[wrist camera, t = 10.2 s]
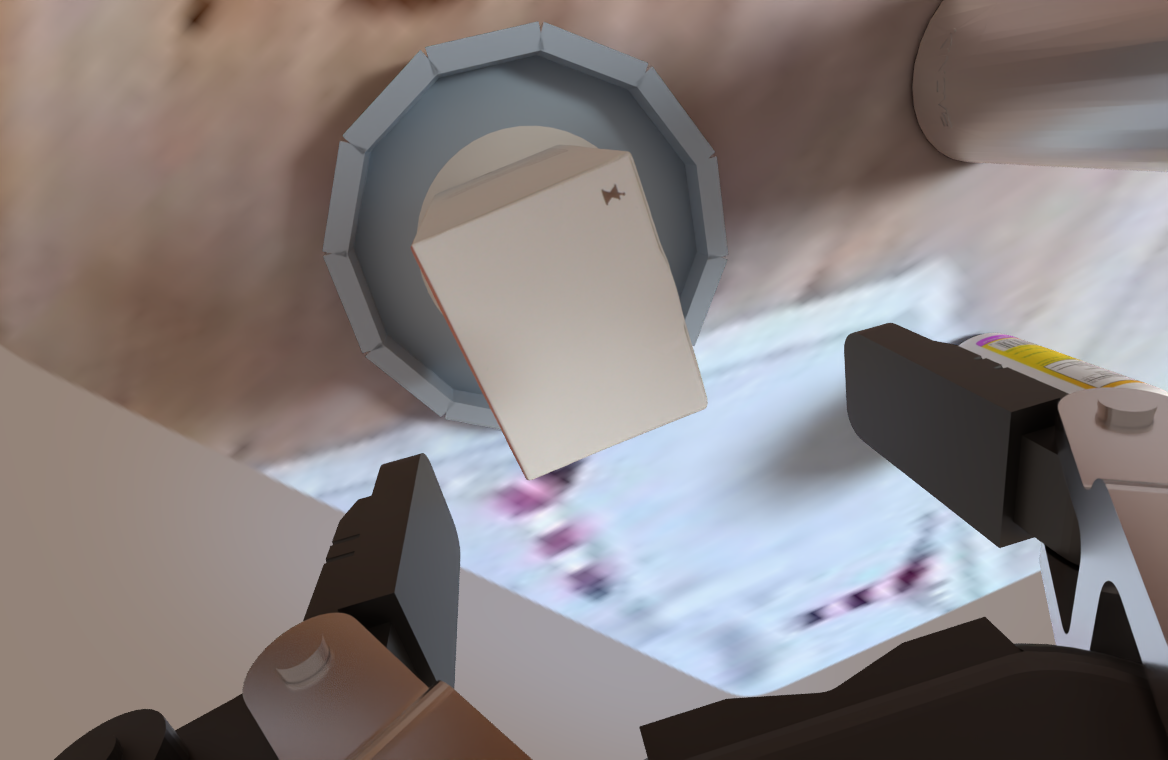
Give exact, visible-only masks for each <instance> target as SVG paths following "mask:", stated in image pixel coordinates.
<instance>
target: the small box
mask: <svg viewBox="0 0 1168 760" xmlns="http://www.w3.org/2000/svg"><path fill="white" fill-rule="evenodd" d="M411 251H412V253H413V255H414V257H415V259H416V261H417V263H418V265H419V267H420V269H421V271H422V273H423V275H424V277H425V279H426V281H427V283H428V285H429V287H430V289H431V291H432V294H433V296H434V298H435V300H436V302H437V304H438V306H439V308H440V310H441V312H442V314H443V316H444V318H445V320H446V322H447V324H448V326H449V328H450V330H451V332H452V334H453V336H454V338H455V340H456V342H457V343H458V345H459V347H460V349H461V351H462V353H463V355H464V357H465V359H466V361H467V363H468V365H469V367H470V369H471V371H472V373H473V375H474V377H475V379H476V381H477V383H478V385H479V387H480V389H481V391H482V393H483V395H484V397H485V399H486V401H487V403H488V405H489V407H490V409H491V411H492V413H493V414H494V416H495V418H496V420H497V422H498V424H499V426H500V428H501V430H502V432H503V434H504V436H505V438H506V440H507V442H508V445H509V447H510V449H511V450H512V452H513V454H514V456H515V458H516V460H517V462H518V464H519V466H520V468H521V470H522V472H523V474H524V476H525V478H526V479H527V480H532V479H535V478H537V477H540V476H542V475H544V474H547V473H549V472H552V471H554V470H556V469H559V468H561V467H564V466H566V465H568V464H570V463H573V462H575V461H577V460H580V459H582V458H585V457H587V456H590V455H592V454H594V453H597V452H599V451H601V450H604V449H606V448H609V447H611V446H614V445H616V444H618V443H621V442H623V441H626V440H628V439H631V438H633V437H636V436H638V435H641V434H643V433H646V432H648V431H651V430H653V429H656V428H658V427H661V426H663V425H665V424H668V423H670V422H673V421H675V420H678V419H680V418H683V417H685V416H688V415H690V414H693V413H696V412H698V411H701V410H703V409H705V408H706V407H707V403H708V402H707V396H706V393H705V389H704V385H703V382H702V378H701V375H700V371H699V368H698V364H697V360H696V357H695V354H694V351H693V347H692V344H691V340H690V337H689V333H688V330H687V326H686V323H685V319H684V316H683V312H682V308H681V304H680V299H679V295H678V292H677V288H676V285H675V282H674V279H673V276H672V273H671V270H670V266H669V263H668V260H667V257H666V255H665V253H664V251H663V248H662V245H661V243H660V240H659V237H658V234H657V231H656V228H655V224H654V222H653V219H652V216H651V212H650V209H649V206H648V203H647V200H646V197H645V194H644V191H643V187H642V184H641V181H640V178H639V175H638V172H637V169H636V165H635V162H634V159H633V157H632V154H631V153H630V152H628V151H619V150H608V149H597V148H589V147H581V146H573V145H556V146H553V147H551V148H548V149H546V150H543V151H541V152H538V153H536V154H534V155H531V156H529V157H526V158H524V159H521V160H519V161H516V162H514V163H512V164H509V165H507V166H504V167H502V168H499V169H497V170H494V171H492V172H490V173H487V174H485V175H482V176H480V177H477V178H475V179H472V180H470V181H467V182H465V183H462V184H460V185H457V186H455V187H452V188H450V189H447V190H445V191H442V192H440V193H438V194H436V195H434V197H433V199H432V202H431V204H430V205H429V207H428V210H427V212H426V214H425V217H424V219H423V221H422V223H421V225H420V227H419V230H418V232H417V234H416V236H415V239H414V241H413V243H412V245H411Z"/></svg>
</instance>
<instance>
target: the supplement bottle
mask: <svg viewBox="0 0 1168 760" xmlns="http://www.w3.org/2000/svg"><path fill="white" fill-rule="evenodd" d="M958 346H960V347H962V348H964V349H967V350H969V351H971V352H974V353H976V354H978V355H981V357H982V359H985V358H987V359H990V360H992V361H994V362H997V363H999V364H1001V365H1002V367H1003V368H1006V367H1008V368H1011V369H1013V370H1015V371H1018V372H1020V373H1022V374H1025V375H1027V376H1029V377H1032V378H1034V379H1036V380H1038V381H1041V382H1043V383H1045V384H1048V385H1050V386H1052V387H1055V388H1057V389H1059V390H1062V391H1064V392H1066V393H1069V394H1071V393H1073V392H1076V391H1080V390H1085V389H1091V388H1105V387H1115V388H1130V389H1138V390H1144V391H1150V392H1154V393H1158V394H1162V395H1165V396H1168V392H1167V391H1165V390H1162V389H1160V388H1157V387H1155V386H1152V385H1149V384H1146V383H1143V382H1141V381H1138V380H1135V379H1132V378H1129V377H1126V376H1123V375H1121V374H1118V373H1115V372H1112V371H1109V370H1106V369H1104V368H1101V367H1098V366H1095V365H1092V364H1089V363H1087V362H1084V361H1081V360H1078V359H1076V358H1073V357H1070V356H1067V355H1064V354H1062V353H1059V352H1056V351H1053V350H1050V349H1048V348H1045V347H1042V346H1039V345H1036V344H1034V343H1031V342H1028V341H1025V340H1022V339H1019V338H1016V337H1013V336H1009V335H1006V334H1001V333H986V334H981V335H978V336H975V337H972V338H970V339H968V340H966V341H964V342H963V343H961V344H960V345H958Z"/></svg>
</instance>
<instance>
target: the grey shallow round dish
mask: <svg viewBox="0 0 1168 760" xmlns="http://www.w3.org/2000/svg"><path fill="white" fill-rule="evenodd" d="M425 48H426V51H427V55H428V58H429V59H428V58H427V57H426V55H425V54H424V53H423V52H422V51H421V50H420V51H419V52H418V53H417V54H416V55H415V56H414V58H413V59H412V60H411V61H410V62H409V63H408V64H407V65H406V66H405V67H404V69H403V70H402V71H401V72H400V73H399V74H398V75H397V76H396V77H395V78H394V79H393V81H392V82H391V83H390V84H389V85H388V86H387V87H386V88H385V89H384V90H383V92H382V93H381V94H380V95H379V96H378V97H377V98H376V99H375V100H374V101H373V103H372V104H371V105H370V106H369V107H368V108H367V109H366V110H365V111H364V112H363V113H362V115H361V116H360V117H359V118H358V119H357V120H356V121H355V122H354V123H353V124H352V126H351V127H350V128H349V129H348V130H347V131H346V132H345V133H344V134H343V135H342V136H343V137H344V138H345V139H346V141H340V143H339V150H338V156H337V162H336V168H335V175H334V181H333V187H332V194H331V200H330V206H329V213H328V219H327V225H326V232H325V238H324V244H323V250H322V251H324V252H327V253H326V254H325V255H324V256H323V257H324V260H325V262H326V265H327V267H328V270H329V272H330V275H331V277H332V280H333V282H334V284H335V287H336V289H337V292H338V294H339V297H340V299H341V302H342V304H343V307H344V309H345V311H346V314H347V316H348V319H349V321H350V324H351V326H352V329H353V331H354V334H355V336H356V338H357V341H358V343H359V346H360V348H361V351H362V353H365V352H367V354H366V358H367V359H369V360H370V361H371V362H372V363H374V364H375V365H376V366H377V367H379V368H380V369H381V370H382V371H384V372H385V373H386V374H387V375H389V376H390V377H391V378H392V379H394V380H395V381H396V382H397V383H399V384H400V385H401V386H402V387H404V388H405V389H406V390H407V391H409V392H410V393H411V394H412V395H414V396H415V397H416V398H417V399H419V400H420V401H421V402H422V403H424V404H425V405H426V406H427V407H429V408H430V409H431V410H432V411H434V412H435V413H436V414H438V415H439V416H440V417H442V416H443V415H444V414H445V419H447V420H453V421H458V422H463V423H468V424H474V425H479V426H484V427H489V428H495V429H500V430H501V428H500V426H499V424H498V422H497V420H496V418H495V416H494V414H493V413H492V411H491V409H490V407H489V405H488V403H487V401H486V399H485V397H484V395H483V393H482V391H481V389H480V387H479V385H478V383H477V381H476V379H475V377H474V375H473V373H472V371H471V369H470V367H469V365H468V363H467V361H466V359H465V357H464V355H463V353H462V351H461V349H460V347H459V345H458V343H457V342H456V340H455V338H454V336H453V334H452V332H451V330H450V328H449V326H448V324H447V322H446V320H445V318H444V316H443V314H442V312H441V310H440V308H439V306H438V304H437V302H436V300H435V298H434V296H433V294H432V291H431V289H430V287H429V285H428V283H427V281H426V279H425V277H424V275H423V273H422V271H421V269H420V267H419V265H418V263H417V261H416V259H415V257H414V255H413V253H412V251H411V245H412V243H413V241H414V239H415V236H416V234H417V232H418V230H419V227H420V225H421V223H422V221H423V219H424V217H425V214H426V212H427V210H428V207H429V205H430V204H431V202H432V199H433V197H434V195H436V194H438V193H440V192H442V191H445V190H447V189H450V188H452V187H455V186H457V185H460V184H462V183H465V182H467V181H470V180H472V179H475V178H477V177H480V176H482V175H485V174H487V173H490V172H492V171H494V170H497V169H499V168H502V167H504V166H507V165H509V164H512V163H514V162H516V161H519V160H521V159H524V158H526V157H529V156H531V155H534V154H536V153H538V152H541V151H543V150H546V149H548V148H551V147H553V146H556V145H573V146H581V147H589V148H597V149H608V150H619V151H628V152H630V153H631V154H632V157H633V159H634V162H635V165H636V169H637V172H638V175H639V178H640V181H641V184H642V187H643V191H644V194H645V197H646V200H647V203H648V206H649V209H650V212H651V216H652V219H653V222H654V224H655V228H656V231H657V234H658V237H659V240H660V243H661V245H662V248H663V251H664V253H665V255H666V257H667V260H668V263H669V266H670V270H671V273H672V276H673V279H674V282H675V285H676V288H677V292H678V295H679V299H680V304H681V308H682V312H683V316H684V319H685V323H686V326H687V330H688V333H689V337H690V340H691V344H692V346H695V343H696V341H697V338H698V336H699V333H700V330H701V328H702V325H703V322H704V320H705V317H706V315H707V312H708V309H709V307H710V304H711V302H712V299H713V296H714V294H715V291H716V289H717V286H718V283H719V281H720V278H721V276H722V273H723V270H724V268H725V265H726V262H727V260H728V259H726V258H724V257H723V256H726V255H728V248H727V240H726V231H725V223H724V214H723V205H722V197H721V188H720V180H719V171H718V163H717V156H711V155H712V154H714V153H715V151H714V150H713V149H712V147H711V146H710V144H709V143H708V142H707V140H706V139H705V138H704V136H703V135H702V134H701V132H700V131H699V129H698V128H697V127H696V125H695V124H694V123H693V121H692V120H691V118H690V117H689V116H688V114H687V113H686V112H685V110H684V109H683V108H682V106H681V105H680V103H679V102H678V101H677V99H676V98H675V97H674V95H673V94H672V93H671V91H670V90H669V88H668V87H667V86H666V84H665V83H664V82H663V80H662V79H661V78H660V76H659V75H658V73H657V72H656V71H655V69H654V68H653V67H649V68H647V66H648V63H647V62H644V61H642V60H639V59H636V58H634V57H631V56H629V55H626V54H624V53H621V52H619V51H616V50H614V49H611V48H609V47H606V46H604V45H601V44H599V43H596V42H593V41H591V40H588V39H586V38H583V37H581V36H578V35H576V34H573V33H571V32H568V31H566V30H563V29H561V28H558V27H556V26H553V25H550V24H548V23H545V22H543V24H542V25H541V27H539V22H534V23H529V24H525V25H520V26H516V27H512V28H507V29H503V30H498V31H494V32H490V33H485V34H481V35H476V36H472V37H468V38H463V39H459V40H454V41H450V42H446V43H441V44H437V45H432V46H428V47H425Z"/></svg>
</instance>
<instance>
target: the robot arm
mask: <svg viewBox="0 0 1168 760" xmlns="http://www.w3.org/2000/svg"><path fill="white" fill-rule="evenodd" d="M912 88H913V101H914V109H915V112H916V116H917V119H918V123H919V125H920V127H921V129H922V131H923V133H924V135H925V136H926V138H927V140H928V141H929V142H930V143H931V144H932V145H933V146H934V147H935V148H936V149H937V150H938V151H939V152H941V153H943V154H944V155H946V156H948V157H950V158H951V159H955V160H959V161H964V162H974V163H996V164H1017V165H1031V166H1052V167H1073V168H1094V169H1116V170H1137V171H1158V172H1168V0H943V1H942V3H941V4H940V6H939V7H938V9H937V11H936V12H935V14H934V15H933V17H932V18H931V20H930V22H929V24H928V26H927V29H926V31H925V33H924V36H923V38H922V40H921V42H920V46H919V50H918V54H917V57H916V61H915V65H914V75H913V85H912ZM844 357H845V378H846V400H847V412H848V417H849V420H850V423H851V425H852V427H853V429H854V431H855V432H856V434H857V435H858V436H859V437H860V439H862V440H863V441H864V442H865V443H866V444H868V445H869V446H870V447H872V448H873V449H874V450H875V451H877V452H878V453H879V454H880V455H882V456H883V457H884V458H886V459H887V460H888V461H889V462H891V463H892V464H893V465H894V466H896V467H897V468H898V469H900V470H901V471H902V472H903V473H905V474H906V475H907V476H908V477H910V478H911V479H912V480H914V481H915V482H916V483H917V484H919V485H920V486H921V487H922V488H924V489H925V490H926V491H928V492H929V493H930V494H931V495H933V496H934V497H935V498H936V499H938V500H939V501H940V502H942V503H943V504H944V505H945V506H947V507H948V508H949V509H950V510H952V511H953V512H954V513H956V514H957V515H958V516H959V517H961V518H962V519H963V520H964V521H966V522H967V523H968V524H969V525H971V526H972V527H973V528H975V529H976V530H977V531H978V532H980V533H981V534H982V535H983V536H985V537H986V538H987V539H989V540H990V541H991V542H992V543H994V544H995V545H996V546H997V547H999V548H1001V547H1005V546H1008V545H1011V544H1014V543H1017V542H1021V541H1024V540H1027V539H1030V538H1034V537H1035V538H1037V539H1038V540H1039V541H1041V548H1040V557H1039V562H1040V568H1041V573H1042V578H1043V583H1044V588H1045V592H1046V597H1047V602H1048V607H1049V612H1050V617H1051V622H1052V627H1053V632H1054V637H1055V641H1056V645H1049V644H1013V643H1012V642H1011V641H1010V640H1009V639H1008V638H1007V637H1006V636H1005V635H1004V634H1003V633H1002V632H1001V631H999V630H998V629H997V628H996V627H995V626H994V625H993V624H992V623H991V622H990V621H989V620H988V619H987V618H986V617H983V618H979V619H976V620H973V621H970V622H967V623H964V624H961V625H957V626H954V627H951V628H948V629H945V630H942V631H939V632H935V633H932V634H929V635H926V636H923V637H920V638H917V639H913V640H911V641H907V642H904V643H902V644H900V645H899V646H897V647H896V648H894V649H893V650H891V651H890V652H888V653H887V654H885V655H884V656H882V657H881V658H879V659H878V660H876V661H875V662H873V663H872V664H870V665H869V666H867V667H866V668H865V669H863V670H862V671H860V672H859V673H857V674H856V675H854V676H853V677H851V678H850V679H848V680H847V681H845V682H844V683H842V684H841V685H839V686H838V687H836V688H834V689H832V690H830V691H827V692H822V693H811V694H796V695H779V696H764V697H748V698H733V699H725V700H722V701H719V702H715V703H712V704H709V705H706V706H703V707H700V708H696V709H693V710H690V711H687V712H685V713H681V714H678V715H675V716H671V717H668V718H665V719H662V720H659V721H656V722H653V723H649V724H646V725H643V726H640V731H641V735H642V738H643V742H644V746H645V749H646V753H647V757H648V758H646V759H645V760H1168V396H1165V395H1162V394H1158V393H1154V392H1150V391H1144V390H1138V389H1130V388H1115V387H1105V388H1091V389H1085V390H1080V391H1076V392H1073V393H1071V394H1069V393H1066V392H1064V391H1062V390H1059V389H1057V388H1055V387H1052V386H1050V385H1048V384H1045V383H1043V382H1041V381H1038V380H1036V379H1034V378H1032V377H1029V376H1027V375H1025V374H1022V373H1020V372H1018V371H1015V370H1013V369H1011V368H1008V367H1006V368H1003V367H1002V365H1001V364H999V363H997V362H994V361H992V360H990V359H987V358H985V359H982V357H981V355H978V354H976V353H974V352H971V351H969V350H967V349H964V348H962V347H960V346H957V345H953V344H948V343H942V342H937V341H932V340H930V339H928V338H926V337H923V336H921V335H919V334H917V333H914V332H912V331H910V330H908V329H905V328H903V327H901V326H899V325H896V324H894V323H887V324H883V325H880V326H876V327H872V328H869V329H865V330H862V331H858V332H855V333H851V334H850V335H848V337H847V338H846V341H845V345H844ZM332 543H333V545H332V546H330V549H329V552H328V554H327V557H326V564H324V565H323V568H322V571H321V574H320V576H319V579H318V582H317V585H316V587H315V590H314V593H313V596H312V598H311V601H310V604H309V607H308V609H307V612H306V615H305V617H304V620H303V622H301V623H299V624H297V625H295V626H294V627H292V628H290V629H289V630H287V631H286V632H284V633H283V634H281V635H280V636H279V637H278V638H276V639H275V640H274V641H273V642H272V643H271V644H270V645H268V646H267V647H266V648H265V650H264V651H263V652H262V653H261V654H260V655H259V656H258V658H257V659H256V660H255V662H254V663H253V664H252V666H251V668H250V669H249V671H248V673H247V675H246V678H245V680H244V685H243V693H242V694H241V695H239V696H237V697H236V698H234V699H232V700H230V701H228V702H227V703H225V704H223V705H221V706H219V707H217V708H216V709H214V710H212V711H210V712H208V713H206V714H204V715H203V716H201V717H199V718H197V719H195V720H193V721H192V722H190V723H188V724H186V725H185V726H182V727H181V728H179V729H177V730H174V729H173V728H172V727H171V725H170V724H169V723H168V721H167V720H166V719H165V718H164V716H163V715H162V714H161V713H159V712H158V711H155V710H152V709H141V710H135V711H131V712H128V713H124V714H122V715H120V716H117V717H115V718H113V719H110V720H108V721H106V722H104V723H102V724H101V725H100V726H97V727H96V728H94V729H92V730H91V731H89V732H88V733H86V734H85V735H83V736H82V737H81V738H79V739H78V740H76V741H75V742H74V743H73V744H71V745H70V746H69V747H68V748H66V749H65V750H64V751H63V752H62V753H61V754H60V755H58V756H57V757H56V758H55V759H54V760H532V759H531V758H530V757H529V756H528V755H527V754H526V753H525V752H523V751H522V750H521V749H520V748H519V747H518V746H517V745H516V744H515V743H513V742H512V741H511V740H510V739H509V738H508V737H507V736H505V734H503V733H502V732H501V731H500V730H499V729H498V728H496V726H494V725H493V724H492V723H491V722H490V721H489V720H488V719H487V718H486V717H484V716H483V715H482V714H481V713H480V712H479V711H478V710H477V709H476V708H474V707H473V706H472V705H471V704H470V703H469V702H468V701H467V700H465V699H464V698H463V697H462V696H461V695H460V694H459V693H458V692H457V691H455V690H454V683H455V661H456V639H457V618H458V617H457V616H458V594H459V573H460V546H459V540H458V535H457V531H456V528H455V524H454V522H453V519H452V516H451V514H450V511H449V509H448V506H447V504H446V501H445V499H444V496H443V494H442V491H441V489H440V486H439V483H438V481H437V478H436V476H435V473H434V471H433V468H432V466H431V463H430V461H429V459H428V458H427V456H426V455H425V454H424V453H421V454H418V455H414V456H411V457H407V458H404V459H400V460H397V461H393V462H389V463H386V464H383V465H381V467H380V470H379V473H378V476H377V480H376V483H375V486H374V489H373V493H372V496H369V497H366V498H362V499H359V500H357V502H356V503H355V504H354V505H353V506H352V507H351V508H350V510H349V511H348V512H347V513H346V514H345V516H344V517H343V518H342V519H341V520H340V522H339V524H338V527H337V530H336V533H335V535H334V538H333V541H332Z"/></svg>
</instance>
